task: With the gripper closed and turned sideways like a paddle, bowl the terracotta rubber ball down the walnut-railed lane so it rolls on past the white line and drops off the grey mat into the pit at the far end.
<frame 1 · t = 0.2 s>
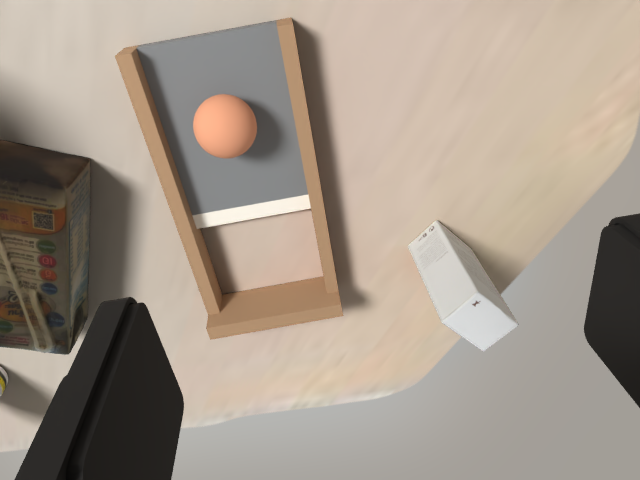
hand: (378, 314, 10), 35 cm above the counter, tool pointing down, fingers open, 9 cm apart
lane: (247, 184, 47), on the counter
beverage carton: (49, 235, 48), on the counter
skincare box: (439, 246, 53), on the counter
ball: (225, 126, 40), point 4 cm above the counter, touching lane
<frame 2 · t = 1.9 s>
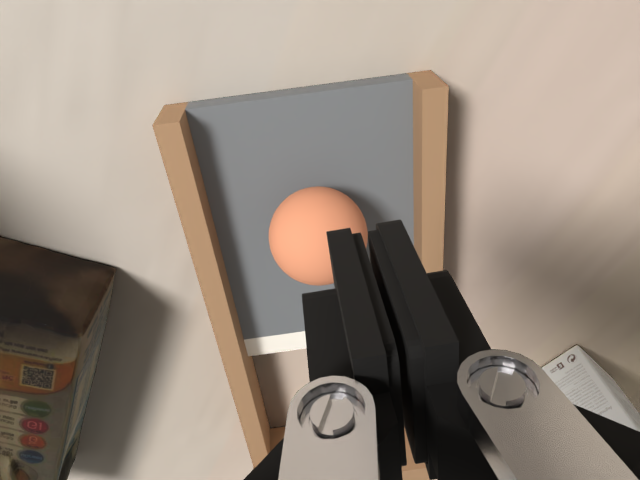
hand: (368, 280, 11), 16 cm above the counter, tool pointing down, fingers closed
lane: (325, 297, 32), on the counter
beverage carton: (37, 356, 33), on the counter
skincare box: (570, 374, 39), on the counter
ball: (318, 236, 25), point 4 cm above the counter, touching lane
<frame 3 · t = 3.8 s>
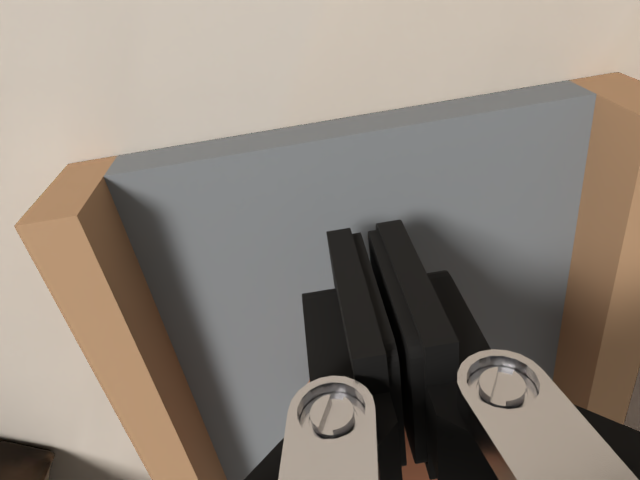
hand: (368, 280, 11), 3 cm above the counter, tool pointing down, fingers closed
lane: (383, 458, 19), on the counter
ball: (393, 434, 13), point 4 cm above the counter, tilted 8°, touching gripper, lane
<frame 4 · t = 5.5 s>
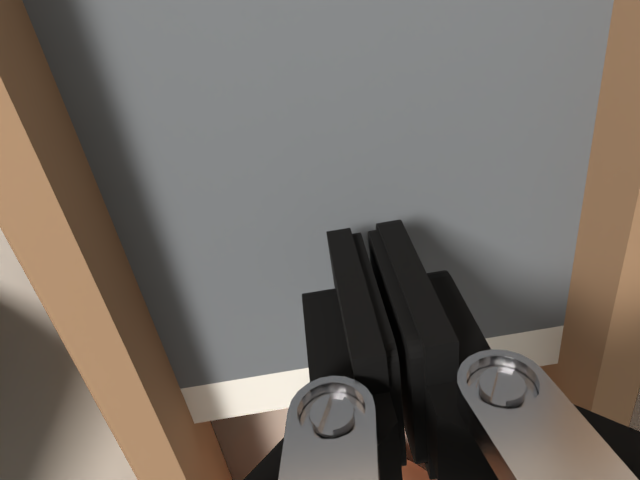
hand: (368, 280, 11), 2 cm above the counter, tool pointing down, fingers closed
lane: (360, 289, 14), on the counter
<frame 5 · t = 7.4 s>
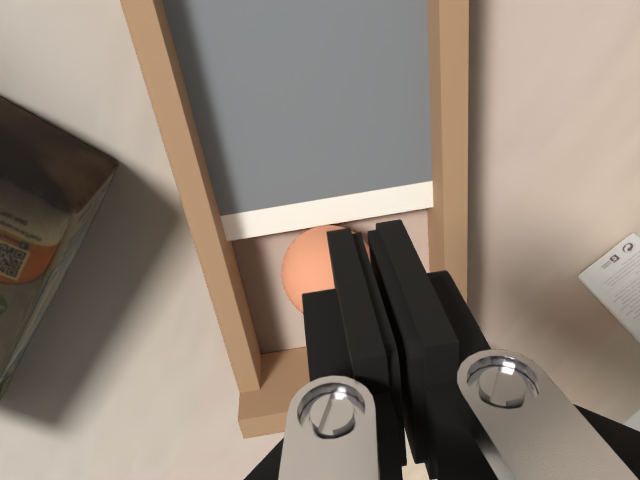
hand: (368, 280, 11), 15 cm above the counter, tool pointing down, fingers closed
lane: (320, 162, 26), on the counter
skincare box: (624, 278, 32), on the counter
ball: (329, 272, 26), point 2 cm above the counter, tilted 72°
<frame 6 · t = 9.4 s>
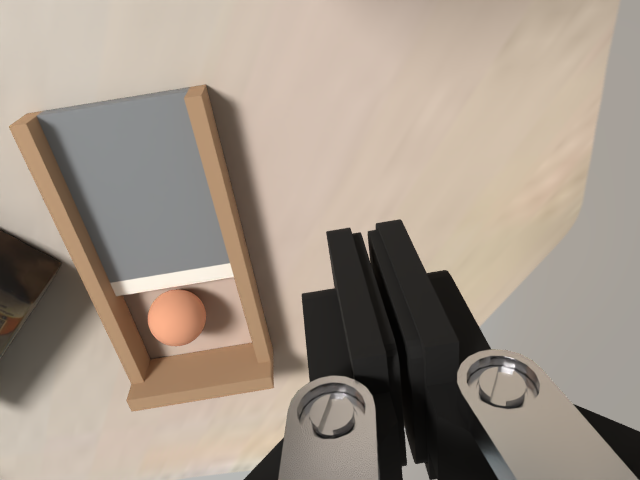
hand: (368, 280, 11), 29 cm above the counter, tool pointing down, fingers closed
lane: (169, 251, 44), on the counter
ball: (177, 317, 45), point 2 cm above the counter, tilted 65°
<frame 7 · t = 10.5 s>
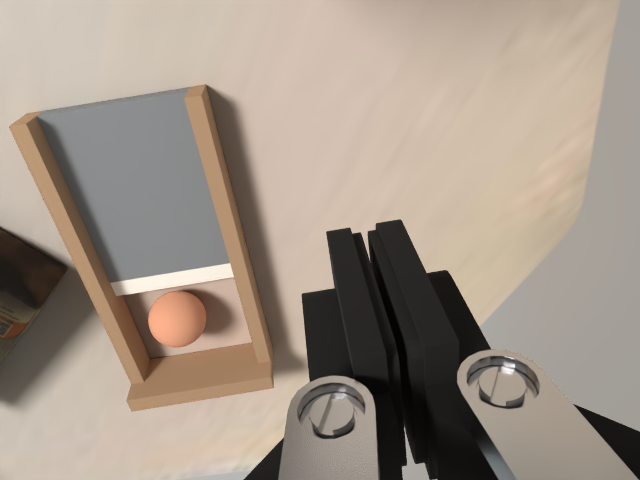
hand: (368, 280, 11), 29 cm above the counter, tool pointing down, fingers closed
lane: (169, 251, 44), on the counter
ball: (177, 318, 45), point 2 cm above the counter, tilted 61°
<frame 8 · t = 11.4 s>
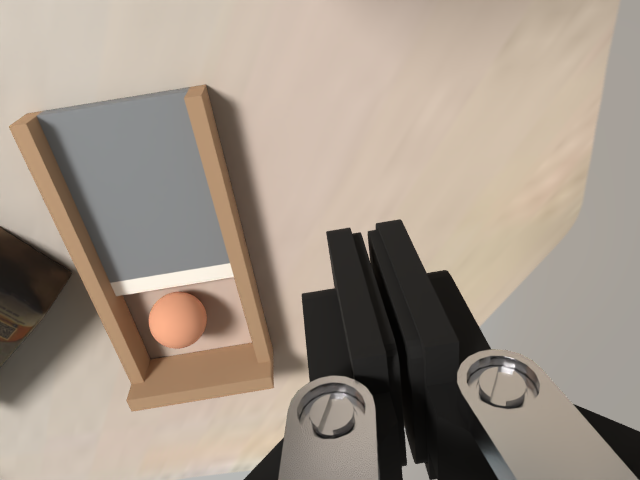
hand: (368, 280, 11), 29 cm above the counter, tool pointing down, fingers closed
lane: (169, 251, 44), on the counter
ball: (178, 319, 45), point 2 cm above the counter, tilted 59°
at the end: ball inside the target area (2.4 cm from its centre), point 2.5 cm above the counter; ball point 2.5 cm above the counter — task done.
